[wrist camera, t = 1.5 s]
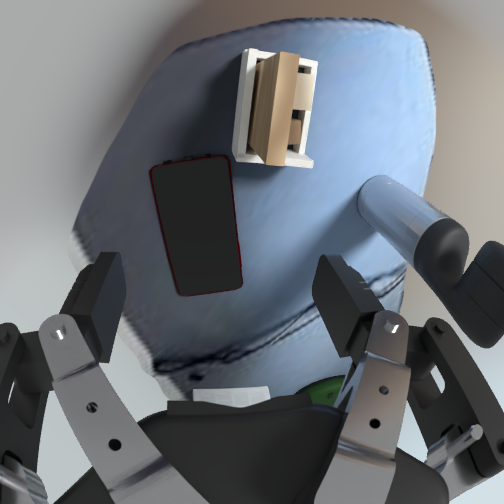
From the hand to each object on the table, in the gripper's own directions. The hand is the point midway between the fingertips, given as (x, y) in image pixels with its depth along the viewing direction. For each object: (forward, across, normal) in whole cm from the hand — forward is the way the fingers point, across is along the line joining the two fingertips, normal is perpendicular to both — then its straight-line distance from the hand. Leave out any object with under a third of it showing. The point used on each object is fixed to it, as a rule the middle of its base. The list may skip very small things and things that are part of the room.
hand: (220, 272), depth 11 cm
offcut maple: (+30, -10, -8) cm, 33 cm away
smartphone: (+33, +1, +15) cm, 37 cm away
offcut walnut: (+33, -10, -2) cm, 34 cm away
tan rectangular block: (+33, -6, -6) cm, 34 cm away
